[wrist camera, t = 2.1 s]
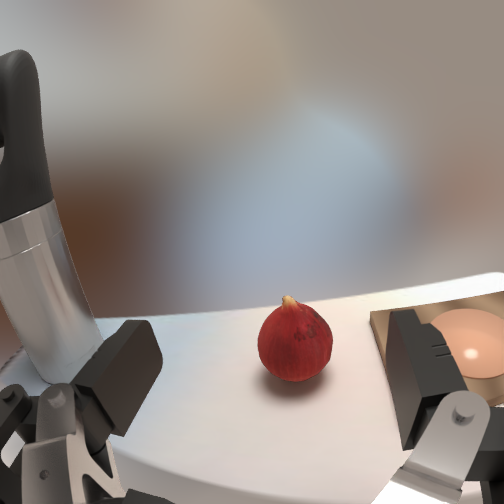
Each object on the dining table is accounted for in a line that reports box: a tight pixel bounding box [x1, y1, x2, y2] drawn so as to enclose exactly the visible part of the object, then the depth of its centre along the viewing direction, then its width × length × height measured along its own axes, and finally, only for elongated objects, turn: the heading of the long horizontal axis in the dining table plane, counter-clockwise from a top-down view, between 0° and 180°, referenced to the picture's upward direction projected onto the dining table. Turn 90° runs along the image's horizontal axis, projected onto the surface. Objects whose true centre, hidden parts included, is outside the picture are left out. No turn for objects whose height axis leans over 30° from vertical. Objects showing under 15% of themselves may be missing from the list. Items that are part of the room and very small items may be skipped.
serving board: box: [370, 291, 504, 407], centre depth 22 cm, size 18×14×1 cm
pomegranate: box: [258, 296, 333, 382], centre depth 23 cm, size 6×6×8 cm
